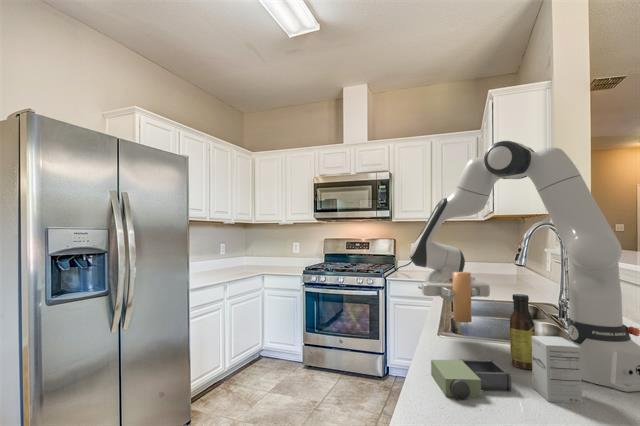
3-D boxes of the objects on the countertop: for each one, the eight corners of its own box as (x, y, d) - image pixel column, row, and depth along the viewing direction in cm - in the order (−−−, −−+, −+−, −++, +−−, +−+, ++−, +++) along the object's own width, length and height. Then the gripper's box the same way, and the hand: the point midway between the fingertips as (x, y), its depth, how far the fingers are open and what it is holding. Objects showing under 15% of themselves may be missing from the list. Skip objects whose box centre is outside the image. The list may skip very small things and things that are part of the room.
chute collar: (494, 375, 91) (493, 360, 91) (511, 391, 82) (510, 374, 82) (461, 374, 91) (461, 359, 92) (474, 390, 82) (474, 373, 83)
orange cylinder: (467, 318, 104) (466, 271, 105) (474, 322, 99) (473, 273, 100) (451, 318, 104) (450, 271, 105) (456, 322, 99) (455, 273, 100)
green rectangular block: (461, 375, 91) (461, 360, 91) (483, 400, 77) (483, 382, 78) (431, 374, 91) (431, 359, 91) (447, 399, 78) (447, 381, 78)
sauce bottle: (540, 371, 94) (538, 297, 95) (515, 369, 95) (513, 296, 96) (530, 362, 100) (528, 293, 102) (507, 360, 102) (505, 292, 103)
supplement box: (531, 387, 84) (530, 335, 85) (564, 389, 83) (563, 336, 84) (547, 402, 77) (545, 344, 78) (583, 404, 76) (581, 346, 77)
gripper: (416, 276, 116) (427, 282, 102) (478, 276, 115) (497, 283, 101) (416, 295, 115) (427, 304, 102) (478, 296, 114) (498, 304, 101)
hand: (463, 293), depth 101 cm, fingers closed on orange cylinder, 5 cm apart
